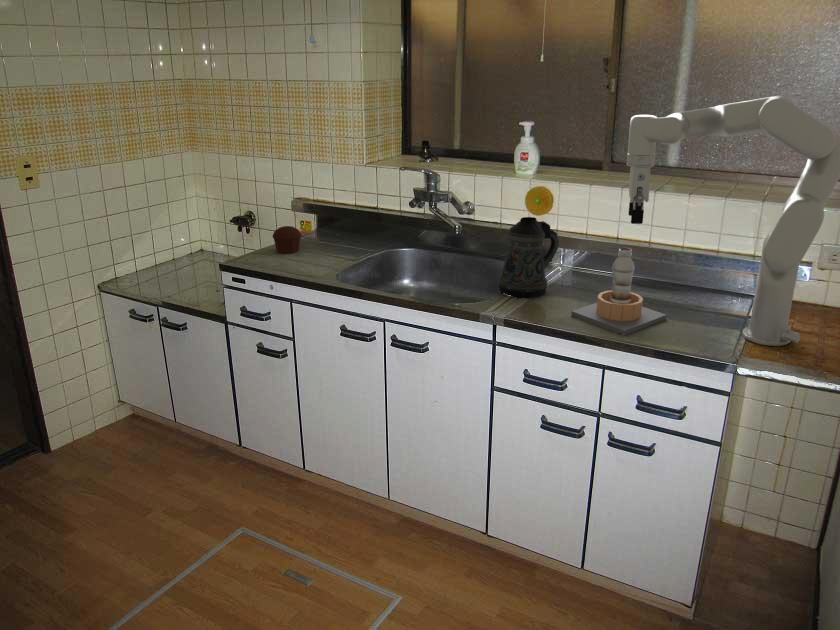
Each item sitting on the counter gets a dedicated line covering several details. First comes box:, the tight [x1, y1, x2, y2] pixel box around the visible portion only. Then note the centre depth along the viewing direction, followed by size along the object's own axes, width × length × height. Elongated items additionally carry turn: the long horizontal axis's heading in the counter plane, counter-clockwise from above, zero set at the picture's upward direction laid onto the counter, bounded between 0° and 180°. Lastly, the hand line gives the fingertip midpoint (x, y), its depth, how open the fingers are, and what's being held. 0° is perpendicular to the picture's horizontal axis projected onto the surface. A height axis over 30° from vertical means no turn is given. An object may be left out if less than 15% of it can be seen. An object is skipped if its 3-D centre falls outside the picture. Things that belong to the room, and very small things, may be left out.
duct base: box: [571, 290, 667, 336], centre depth 217 cm, size 20×20×6 cm
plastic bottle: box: [610, 247, 636, 304], centre depth 214 cm, size 6×7×20 cm
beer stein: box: [497, 216, 560, 299], centre depth 238 cm, size 16×19×25 cm
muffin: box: [272, 225, 303, 255], centre depth 288 cm, size 12×11×10 cm
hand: (635, 219), depth 208 cm, fingers open, 9 cm apart
